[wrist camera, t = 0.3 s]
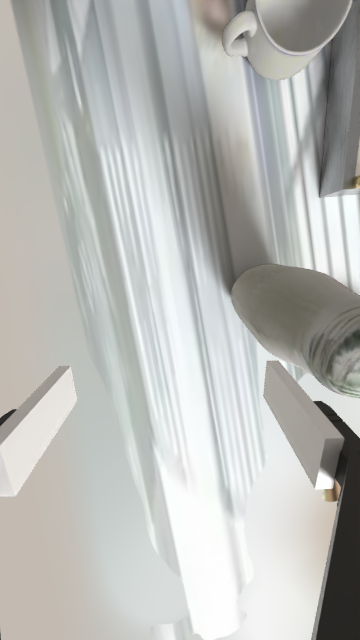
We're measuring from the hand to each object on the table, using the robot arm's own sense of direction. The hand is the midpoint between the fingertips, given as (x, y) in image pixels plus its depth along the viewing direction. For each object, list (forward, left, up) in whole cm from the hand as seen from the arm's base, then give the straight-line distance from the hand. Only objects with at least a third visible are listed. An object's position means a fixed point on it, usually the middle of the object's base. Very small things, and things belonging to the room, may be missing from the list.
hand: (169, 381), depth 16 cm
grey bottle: (0, +14, -28) cm, 31 cm away
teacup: (-33, +15, -28) cm, 46 cm away
